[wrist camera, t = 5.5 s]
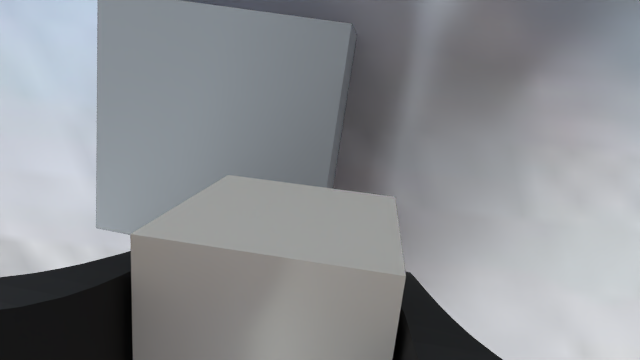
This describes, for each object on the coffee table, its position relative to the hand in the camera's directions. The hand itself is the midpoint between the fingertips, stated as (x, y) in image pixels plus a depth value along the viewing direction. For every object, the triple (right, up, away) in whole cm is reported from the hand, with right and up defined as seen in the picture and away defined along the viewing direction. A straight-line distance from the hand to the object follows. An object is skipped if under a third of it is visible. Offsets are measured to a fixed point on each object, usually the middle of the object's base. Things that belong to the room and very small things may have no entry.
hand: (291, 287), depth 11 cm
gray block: (-3, +6, +9) cm, 11 cm away
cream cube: (0, 0, +1) cm, 2 cm away
